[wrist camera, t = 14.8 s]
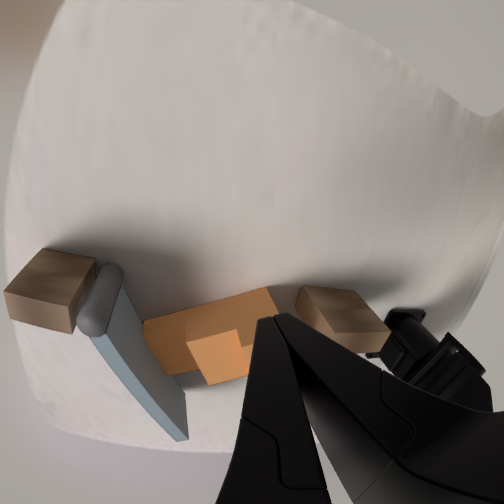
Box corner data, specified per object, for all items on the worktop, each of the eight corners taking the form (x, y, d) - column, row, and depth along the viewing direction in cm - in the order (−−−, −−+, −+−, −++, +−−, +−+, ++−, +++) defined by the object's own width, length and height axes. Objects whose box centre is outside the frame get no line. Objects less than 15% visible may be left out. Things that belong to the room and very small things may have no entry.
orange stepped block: (167, 359, 23) (168, 411, 18) (144, 318, 21) (137, 372, 16) (275, 330, 24) (296, 378, 19) (265, 284, 22) (288, 332, 17)
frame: (354, 290, 24) (391, 331, 19) (346, 309, 25) (379, 351, 19) (41, 248, 16) (3, 291, 11) (43, 272, 17) (10, 318, 12)
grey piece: (96, 266, 18) (70, 315, 13) (117, 260, 18) (96, 309, 13) (171, 393, 24) (173, 442, 19) (187, 390, 25) (192, 439, 20)
